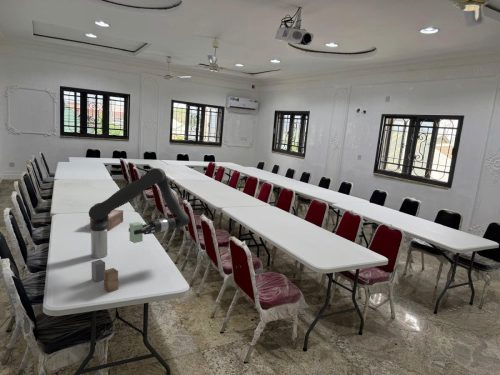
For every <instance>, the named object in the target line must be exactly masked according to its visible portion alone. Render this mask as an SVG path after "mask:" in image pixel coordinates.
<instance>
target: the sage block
mask: <svg viewBox="0 0 500 375" xmlns="http://www.w3.org/2000/svg"><path fill="white" fill-rule="evenodd" d="M142 223H143V222H140V221H134V222H130V223H129V228H130V232H129V241H130V242H131V243H133V244H136V243H140V242H143V240H144V239H143V238H144V237H143V236H144V234H137V235H135V234H134V231H135V230H141V229H143V225H144V224H142Z"/></svg>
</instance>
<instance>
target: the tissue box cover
mask: <svg viewBox="0 0 500 375" xmlns="http://www.w3.org/2000/svg"><path fill="white" fill-rule="evenodd" d="M92 221H93V219H91V218H90V217H89V228H90V229H89V230H91V224H92ZM123 222H124V210H123V209H114V210H112V211H111V212H110V213H108V225H107V232H110V231H112V229H114V228H115V227H117V226H119V225H121V224H122V223H123Z"/></svg>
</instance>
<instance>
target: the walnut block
mask: <svg viewBox="0 0 500 375" xmlns="http://www.w3.org/2000/svg"><path fill="white" fill-rule="evenodd" d="M103 289H104V290H105V291H106V292H107V293H111V292H114V291H118V290H119V270H117V269H116V268H115V267H112V268H111V267H110V268H108V269H105V270H104V280H103Z"/></svg>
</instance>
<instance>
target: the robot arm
mask: <svg viewBox="0 0 500 375" xmlns="http://www.w3.org/2000/svg"><path fill="white" fill-rule="evenodd" d="M154 185H157V186H158V188H159V190H160V192H161V195H162V197H163V200H164V203H165V205H166V207H167V209H168V211H169V213H171V215H175V217H166V218H158V219H157V218H156V219H153V220H150V221H149V222H148V223H144V224H143V222H141V223H142V224H143V229H141V230H135V231H134V234H135V235H137V234H143V236H144V235H152V234H157V233H161V232H165V231H169V230H172V229H181V228H182V227H183V228H184V227H185V226H187V225H189V223H190V217H189V215H188V213H186V211H185V210H184V209H183V208H182V206H181V205H180V204H179V201H178V199H177V197H176V195H175V193H174V192H173V190H172V188H171V186H170V183H169V181H168V178H167V175H166V172H165V171H164V169H162V168H159V167H156V168H155V167H154V168H152V169H150V170H149V171H147V172H146V173H145V174H144V175H143V176H141V177H139V178H138V179H137V180H133V181H132V182H130V183H128V184H126V185H125V186H123V187H122V188H119V190H117V191H116V192H115V193H113V194H112V195H111V196H109V197H108V198H107V199H105V200H104V201H102V202H97V203H95V204H94V205H93V206H91V207H90V208H89V210H88V216H89V219H90V218H91V219H93V221H92V224H91V229H90V249H91V250H90V251H91V257H92V258H95V259H100V258H104V257H107V256H108V231H107V225H108V213H110V212H111V211H112V210H117V209H119V208H120V207H122V206H124V205H126V204H128V203H129V202H131V201H132V200H134V199H136V198H137V197H139V196H140V195H141V194H142V193H143V192H144V191H145V190H147V189H148V188H150V187H152V186H154ZM128 233H130V227H128Z"/></svg>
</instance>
